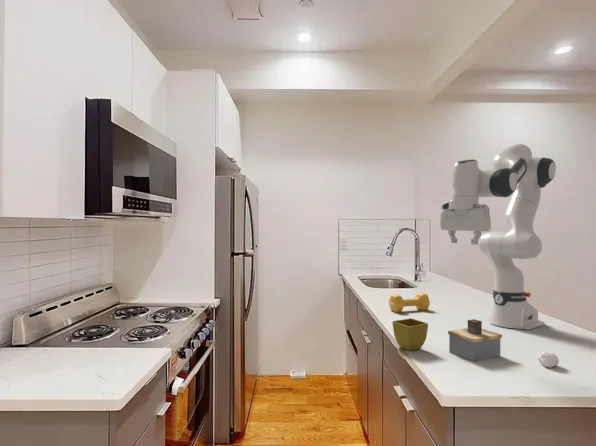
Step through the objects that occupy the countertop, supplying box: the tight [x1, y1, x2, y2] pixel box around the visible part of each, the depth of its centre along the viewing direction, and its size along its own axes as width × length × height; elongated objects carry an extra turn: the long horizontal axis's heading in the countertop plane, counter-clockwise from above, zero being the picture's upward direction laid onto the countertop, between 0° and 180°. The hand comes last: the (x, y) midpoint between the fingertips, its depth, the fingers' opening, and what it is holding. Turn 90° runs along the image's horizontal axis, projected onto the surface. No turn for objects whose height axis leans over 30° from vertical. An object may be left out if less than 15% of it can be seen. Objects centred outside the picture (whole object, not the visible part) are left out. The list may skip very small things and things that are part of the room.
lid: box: [447, 318, 503, 343], centre depth 138 cm, size 13×11×6 cm
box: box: [448, 334, 501, 362], centre depth 138 cm, size 12×10×6 cm
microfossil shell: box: [537, 351, 560, 368], centre depth 128 cm, size 4×5×6 cm
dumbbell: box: [388, 292, 431, 314], centre depth 204 cm, size 19×9×8 cm, turn 107°
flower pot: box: [392, 318, 429, 352], centre depth 145 cm, size 9×9×9 cm
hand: (463, 243), depth 150 cm, fingers open, 8 cm apart
